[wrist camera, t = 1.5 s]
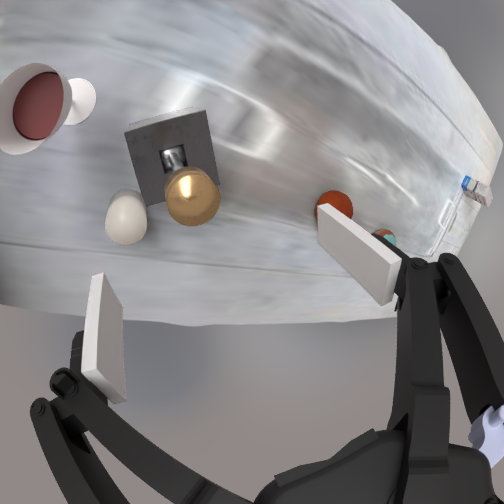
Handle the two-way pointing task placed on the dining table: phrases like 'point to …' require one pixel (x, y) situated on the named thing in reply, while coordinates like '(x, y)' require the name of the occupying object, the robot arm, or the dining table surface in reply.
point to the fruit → (336, 203)
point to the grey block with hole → (165, 136)
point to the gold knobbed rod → (188, 189)
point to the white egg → (126, 217)
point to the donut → (387, 235)
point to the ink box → (477, 191)
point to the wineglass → (40, 106)
